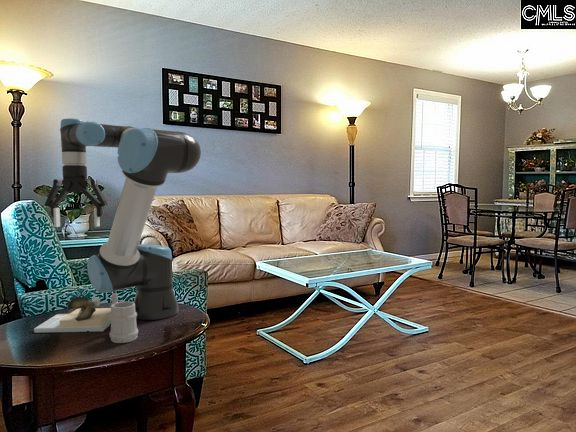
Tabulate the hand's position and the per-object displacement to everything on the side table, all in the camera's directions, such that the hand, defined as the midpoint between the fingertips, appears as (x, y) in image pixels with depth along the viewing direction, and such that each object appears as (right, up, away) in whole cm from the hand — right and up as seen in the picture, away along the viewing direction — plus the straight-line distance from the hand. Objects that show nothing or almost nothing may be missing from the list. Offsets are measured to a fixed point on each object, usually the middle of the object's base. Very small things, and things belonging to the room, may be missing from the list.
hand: (77, 226), depth 152 cm
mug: (+25, -31, -27) cm, 48 cm away
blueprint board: (+8, -30, -15) cm, 35 cm away
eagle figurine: (+11, -27, -18) cm, 34 cm away
